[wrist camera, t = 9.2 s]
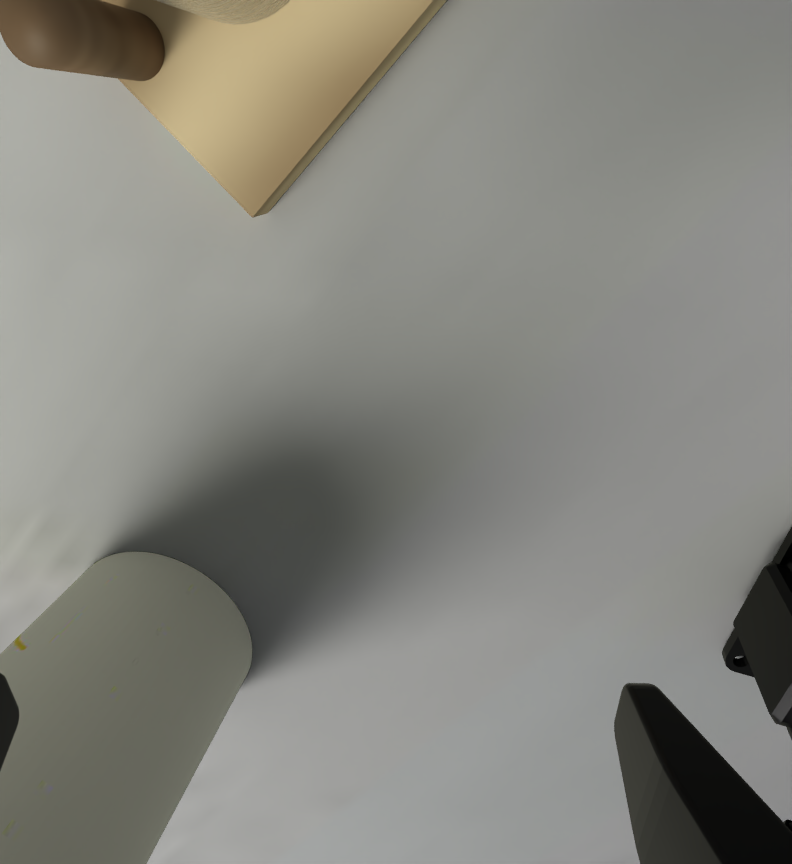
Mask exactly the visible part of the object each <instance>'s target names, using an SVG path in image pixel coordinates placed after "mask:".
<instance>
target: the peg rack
mask: <svg viewBox="0 0 792 864" xmlns="http://www.w3.org/2000/svg"><path fill="white" fill-rule="evenodd" d="M446 1H447V0H290V1H289V2H288V3H287V4H286V5H285V6H284V7H283V8H281V9H280V10H279V11H278V12H276V13H274V14H273V15H271V16H269V17H267V18H265V19H262V20H260V21H257V22H253V23H248V24H235V25H234V24H226V23H221V22H217V21H214V20H211V19H208V18H205V17H202V16H199V15H196V14H193V13H190V12H188V11H185V10H182V9H179V8H176V7H173V6H170V5H167V4H165V3H162V2H159V1H156V0H0V32H1V35H2V37H3V39H4V41H5V43H6V45H7V47H8V48H9V49H10V51H11V52H12V53H13V54H14V55H15V56H16V57H17V58H18V59H19V60H20V61H22V62H23V63H25V64H27V65H29V66H32V67H36V68H44V69H51V70H59V71H66V72H74V73H81V74H89V75H96V76H104V77H111V78H118V79H119V80H120V81H121V82H122V83H123V84H124V85H125V86H126V88H127V89H128V90H129V91H130V92H131V93H132V94H133V95H134V96H135V97H136V98H137V99H138V100H139V101H140V102H141V103H142V104H143V105H144V106H145V107H146V108H147V109H148V110H149V111H150V112H151V113H152V114H153V115H154V116H155V117H156V119H157V120H158V121H159V122H160V123H161V124H162V125H163V126H164V127H165V128H166V129H167V130H168V131H169V132H170V133H171V134H172V135H173V136H174V137H175V138H176V139H177V140H178V141H179V142H180V143H181V144H182V145H183V146H184V147H185V149H186V150H187V151H188V152H189V153H190V154H191V155H192V156H193V157H194V158H195V159H196V160H197V161H198V162H199V163H200V164H201V165H202V166H203V167H204V168H205V169H206V170H207V171H208V172H209V173H210V174H211V175H212V176H213V177H214V179H215V180H216V181H217V182H218V183H219V184H220V185H221V186H222V187H223V188H224V189H225V190H226V191H227V192H228V193H229V194H230V195H231V196H232V197H233V198H234V199H235V200H236V201H237V202H238V203H239V204H240V205H241V206H242V207H243V208H244V210H245V211H246V212H247V213H248V214H249V215H250V216H251V217H256V216H259V215H263V214H266V213H268V212H269V211H270V210H271V209H272V207H273V206H274V205H275V204H276V203H277V201H278V200H279V199H280V198H281V197H282V195H283V194H284V193H285V192H286V191H287V190H288V188H289V187H290V186H291V185H292V184H293V182H294V181H295V180H296V179H297V178H298V177H299V175H300V174H301V173H302V172H303V171H304V169H305V168H306V167H307V166H308V165H309V163H310V162H311V161H312V160H313V159H314V158H315V156H316V155H317V154H318V153H319V152H320V150H321V149H322V148H323V147H324V146H325V144H326V143H327V142H328V141H329V140H330V139H331V137H332V136H333V135H334V134H335V133H336V131H337V130H338V129H339V128H340V127H341V126H342V124H343V123H344V122H345V121H346V120H347V118H348V117H349V116H350V115H351V114H352V112H353V111H354V110H355V109H356V108H357V107H358V105H359V104H360V103H361V102H362V101H363V99H364V98H365V97H366V96H367V95H368V94H369V92H370V91H371V90H372V89H373V88H374V86H375V85H376V84H377V83H378V82H379V80H380V79H381V78H382V77H383V76H384V75H385V73H386V72H387V71H388V70H389V69H390V67H391V66H392V65H393V64H394V63H395V61H396V60H397V59H398V58H399V57H400V56H401V54H402V53H403V52H404V51H405V50H406V48H407V47H408V46H409V45H410V44H411V43H412V41H413V40H414V39H415V38H416V37H417V35H418V34H419V33H420V32H421V31H422V29H423V28H424V27H425V26H426V25H427V24H428V22H429V21H430V20H431V19H432V18H433V16H434V15H435V14H436V13H437V12H438V11H439V9H440V8H441V7H442V6H443V5H444V3H445V2H446Z"/></svg>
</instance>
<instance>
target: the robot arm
mask: <svg viewBox="0 0 792 864" xmlns="http://www.w3.org/2000/svg"><path fill="white" fill-rule="evenodd" d="M733 625H734V627H735V629H734V630H733V632H732V634H731V636H730V637H729V639H728V641H727V643H726V645H725V646H724V648H723V651H722V655H723V658H724V661H725V664H726V666H727V667H728V668H729V669H730V670H732V671H734V672H738V673H741V674H745V675H748V676H752V677H755V679H756V682H757V684H758V687H759V689H760V692H761V694H762V697H763V699H764V702H765V704H766V707H767V709H768V712H769V714H770V715H771V717H772V719H773V720H774V722H775V723H776V724H779V725H783V726H786V727H787V730H788V732H789V734H790V737H791V739H792V527H791V529H790V531H789V533H788V534H787V536H786V538H785V540H784V542H783V543H782V545H781V547H780V549H779V550H778V552H777V554H776V556H775V558H774V559H773V561H772V563H770V564H768V565H767V566H765V567H764V568H763V570H762V572H761V573H760V575H759V577H758V579H757V581H756V582H755V584H754V586H753V588H752V590H751V591H750V593H749V595H748V597H747V599H746V600H745V602H744V604H743V606H742V607H741V609H740V611H739V613H738V615H737V616H736V618H735V620H734V622H733ZM739 655H742V656H744V657H743V658H739V659H737V658H735V657H736V656H739ZM18 722H19V707H18V705H17V702H16V700H15V698H14V695H13V693H12V691H11V688H10V686H9V684H8V682H7V679H6V677H5V676H4V675H3V674H1V673H0V771H1V768H2V766H3V763H4V760H5V758H6V755H7V753H8V750H9V747H10V745H11V742H12V739H13V737H14V734H15V732H16V729H17V726H18ZM614 732H615V739H616V745H617V750H618V755H619V761H620V766H621V771H622V776H623V782H624V787H625V792H626V798H627V803H628V808H629V814H630V819H631V824H632V830H633V834H634V839H635V844H636V849H637V853H638V856H639V860H640V864H792V821H791V820H785V821H784V822H782V821H781V819H780V818H779V817H778V816H777V815H776V814H775V813H774V812H773V811H772V810H771V809H770V808H769V807H768V805H767V804H766V803H765V802H764V801H763V800H762V799H761V798H760V797H759V796H758V795H757V794H756V793H755V791H754V790H753V789H752V788H751V787H750V786H749V785H748V784H747V783H746V782H745V781H744V780H743V779H742V778H741V776H740V775H739V774H738V773H737V772H736V771H735V770H734V769H733V768H732V767H731V766H730V765H729V764H728V762H727V761H726V760H725V759H724V758H723V757H722V756H721V755H720V754H719V753H718V752H717V751H716V750H715V748H714V747H713V746H712V745H711V744H710V743H709V742H708V741H707V740H706V739H705V738H704V737H703V736H702V734H701V733H700V732H699V731H698V730H697V729H696V728H695V727H694V726H693V725H692V724H691V723H690V722H689V721H688V719H687V718H686V717H685V716H684V715H683V714H682V713H681V712H680V711H679V710H678V709H677V708H676V707H675V705H674V704H673V703H672V702H671V701H670V700H669V699H668V698H667V697H666V696H665V695H664V694H663V693H662V691H661V690H660V689H659V688H658V687H656V686H655V685H653V684H648V683H628V684H626V685H625V686H624V687H623V689H622V692H621V696H620V700H619V704H618V709H617V713H616V717H615V722H614Z"/></svg>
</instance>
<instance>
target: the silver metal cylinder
mask: <svg viewBox="0 0 792 864" xmlns="http://www.w3.org/2000/svg"><path fill="white" fill-rule="evenodd" d="M156 1H159V2H162V3H165V4H167V5H170V6H173V7H176V8H179V9H182V10H185V11H188V12H190V13H193V14H196V15H199V16H202V17H205V18H208V19H211V20H214V21H217V22H221V23H226V24H234V25H235V24H248V23H253V22H257V21H260V20H262V19H265V18H267V17H269V16H271V15H273V14H274V13H276V12H278V11H279V10H280V9H281V8H283V7H284V6H285V5H286V4H287V3H288V2H289V1H290V0H156Z"/></svg>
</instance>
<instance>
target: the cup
mask: <svg viewBox="0 0 792 864" xmlns="http://www.w3.org/2000/svg"><path fill="white" fill-rule="evenodd" d="M251 661H252V641H251V636H250V633H249V630H248V627H247V624H246V622H245V620H244V618H243V616H242V614H241V613H240V611H239V609H238V608H237V606H236V605H235V604H234V602H233V601H232V600H231V598H230V597H229V596H228V595H227V594H226V593H225V592H224V591H223V590H222V589H221V588H220V587H219V586H218V585H217V584H216V583H214V582H213V581H212V580H211V579H209V578H208V577H207V576H205V575H204V574H202V573H201V572H199V571H198V570H196V569H194V568H193V567H191V566H189V565H187V564H185V563H183V562H180V561H178V560H175V559H173V558H170V557H167V556H163V555H159V554H154V553H148V552H123V553H117V554H113V555H110V556H107V557H105V558H103V559H101V560H99V561H97V562H96V563H94V564H93V565H92V566H91V567H90V568H89V569H88V570H86V571H85V572H84V573H83V574H82V575H81V576H80V577H79V578H78V579H77V580H76V581H75V582H74V583H73V584H72V585H71V586H70V587H69V588H68V589H67V590H66V591H65V592H64V593H63V594H62V595H61V596H60V597H59V598H58V599H57V600H56V601H55V602H54V603H53V604H51V605H50V606H49V607H48V608H47V609H46V610H45V611H44V612H43V613H42V614H41V615H40V616H39V617H38V618H37V619H36V620H35V621H34V622H33V623H32V624H31V625H30V626H29V627H28V628H27V629H26V630H25V631H24V632H23V633H22V634H21V635H20V636H19V637H18V638H17V639H15V640H14V641H13V642H12V643H11V644H10V645H9V646H8V647H7V648H6V649H5V650H4V651H3V652H2V653H1V654H0V673H1V674H3V675H4V676H5V677H6V679H7V682H8V684H9V686H10V688H11V691H12V693H13V695H14V698H15V700H16V702H17V705H18V707H19V722H18V726H17V729H16V732H15V734H14V737H13V739H12V742H11V745H10V747H9V750H8V753H7V755H6V758H5V760H4V763H3V766H2V768H1V771H0V864H146V863H147V861H148V860H149V858H150V856H151V854H152V852H153V850H154V848H155V846H156V845H157V843H158V841H159V839H160V837H161V835H162V833H163V831H164V830H165V828H166V826H167V824H168V822H169V820H170V818H171V816H172V815H173V813H174V811H175V809H176V807H177V805H178V803H179V801H180V800H181V798H182V796H183V794H184V792H185V790H186V788H187V786H188V785H189V783H190V781H191V779H192V777H193V775H194V773H195V771H196V770H197V768H198V766H199V764H200V762H201V760H202V758H203V756H204V755H205V753H206V751H207V749H208V747H209V745H210V743H211V741H212V740H213V738H214V736H215V734H216V732H217V730H218V728H219V726H220V725H221V723H222V721H223V719H224V717H225V715H226V713H227V711H228V709H229V708H230V706H231V704H232V702H233V700H234V698H235V696H236V694H237V693H238V691H239V689H240V687H241V685H242V683H243V681H244V679H245V678H246V676H247V674H248V672H249V669H250V666H251Z"/></svg>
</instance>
